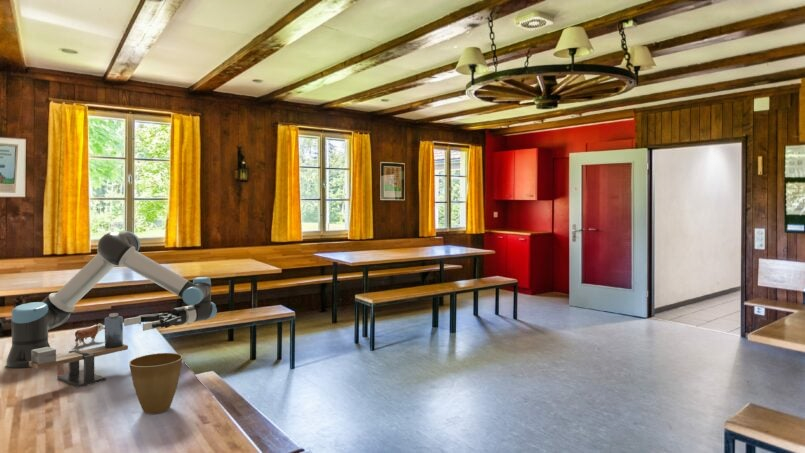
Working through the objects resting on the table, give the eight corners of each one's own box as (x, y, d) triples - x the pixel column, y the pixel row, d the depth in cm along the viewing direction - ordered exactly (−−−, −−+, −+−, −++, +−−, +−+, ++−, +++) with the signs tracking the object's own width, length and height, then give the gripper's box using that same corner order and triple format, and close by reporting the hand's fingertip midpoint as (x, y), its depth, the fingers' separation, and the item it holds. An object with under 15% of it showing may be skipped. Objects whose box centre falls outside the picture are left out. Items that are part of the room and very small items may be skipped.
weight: (101, 346, 187) (101, 314, 187) (117, 343, 193) (117, 311, 192) (110, 348, 184) (109, 316, 184) (126, 345, 189) (125, 313, 189)
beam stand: (57, 378, 179) (57, 352, 179) (83, 372, 187) (83, 346, 187) (79, 387, 171) (78, 359, 171) (105, 380, 179) (105, 353, 178)
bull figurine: (106, 340, 233) (106, 323, 233) (77, 346, 221) (77, 329, 221) (100, 338, 235) (100, 322, 235) (71, 345, 223) (71, 327, 222)
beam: (27, 366, 168) (27, 349, 168) (116, 347, 194) (116, 332, 194) (39, 371, 164) (39, 353, 163) (129, 350, 189) (129, 335, 189)
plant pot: (192, 402, 159) (192, 354, 158) (160, 421, 144) (160, 368, 144) (153, 398, 162) (153, 350, 162) (117, 416, 148) (117, 364, 147)
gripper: (200, 328, 206) (151, 338, 188) (165, 320, 219) (117, 329, 201) (200, 310, 206) (151, 319, 188) (165, 303, 219) (116, 311, 201)
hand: (133, 324), depth 194 cm, fingers open, 13 cm apart
